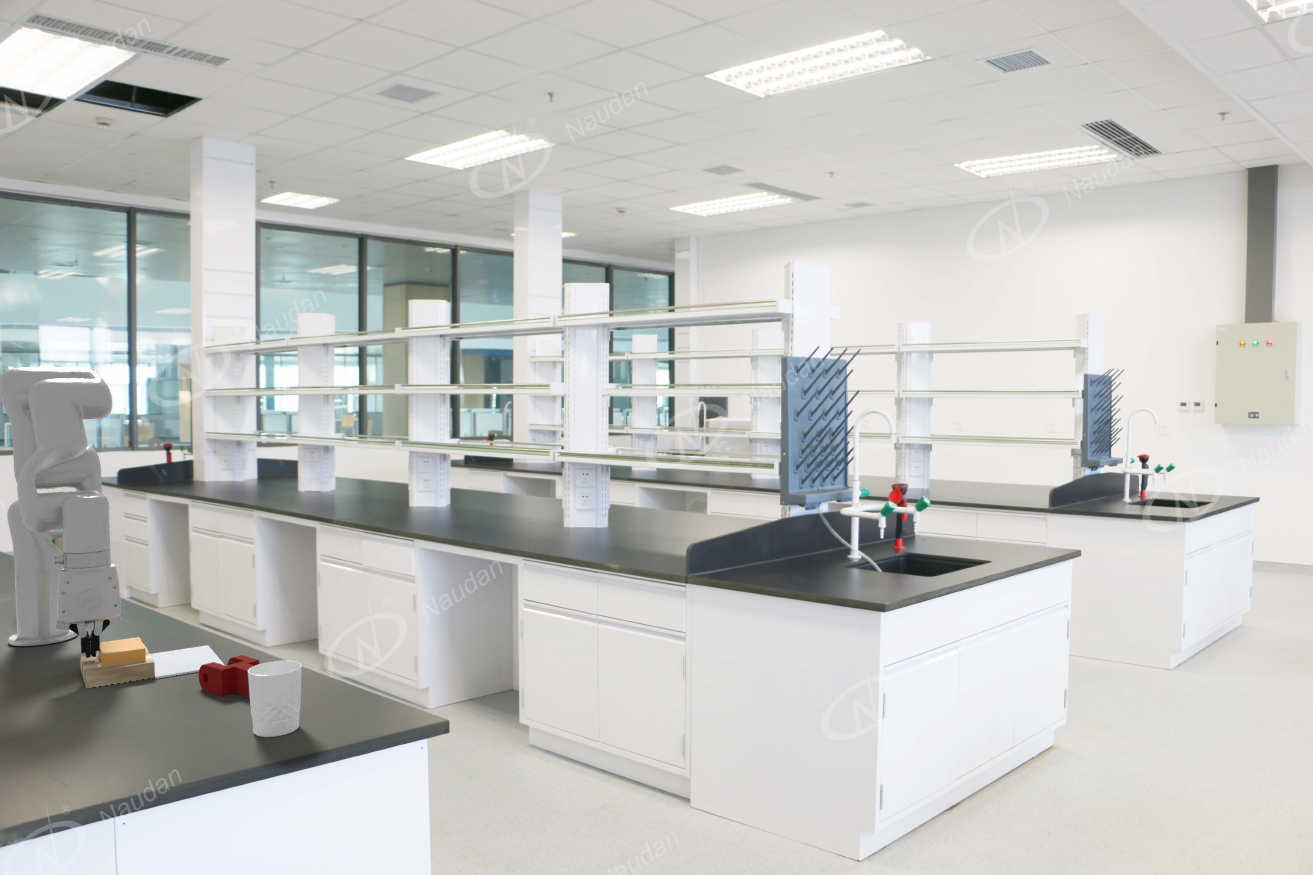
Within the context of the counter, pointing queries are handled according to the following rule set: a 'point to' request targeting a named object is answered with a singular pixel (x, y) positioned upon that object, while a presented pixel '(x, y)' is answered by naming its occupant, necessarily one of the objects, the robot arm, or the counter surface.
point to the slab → (122, 651)
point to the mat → (183, 661)
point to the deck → (115, 670)
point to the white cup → (275, 697)
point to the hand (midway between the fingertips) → (90, 655)
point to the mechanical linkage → (227, 676)
